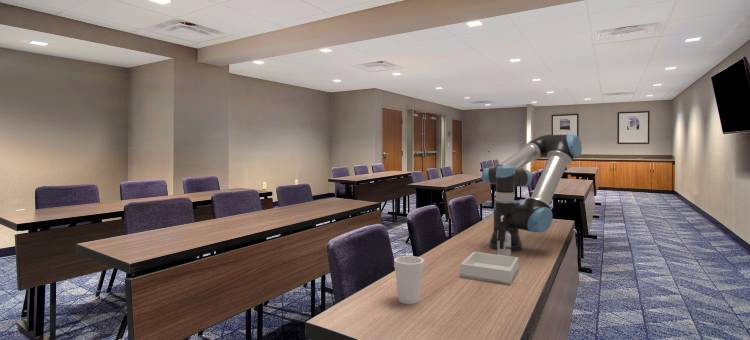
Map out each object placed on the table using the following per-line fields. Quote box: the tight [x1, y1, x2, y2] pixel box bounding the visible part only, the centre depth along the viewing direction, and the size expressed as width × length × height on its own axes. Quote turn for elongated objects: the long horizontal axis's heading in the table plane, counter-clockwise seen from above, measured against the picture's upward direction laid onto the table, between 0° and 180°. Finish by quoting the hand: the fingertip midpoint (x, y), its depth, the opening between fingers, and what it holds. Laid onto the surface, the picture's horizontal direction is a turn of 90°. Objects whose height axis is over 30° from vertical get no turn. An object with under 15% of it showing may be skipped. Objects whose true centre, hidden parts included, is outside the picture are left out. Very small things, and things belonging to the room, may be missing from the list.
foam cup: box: [393, 255, 425, 305], centre depth 125 cm, size 10×9×13 cm
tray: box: [459, 251, 519, 286], centre depth 152 cm, size 20×18×5 cm
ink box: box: [496, 231, 512, 257], centre depth 169 cm, size 9×5×12 cm, turn 168°
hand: (503, 253), depth 169 cm, fingers closed on ink box, 9 cm apart
